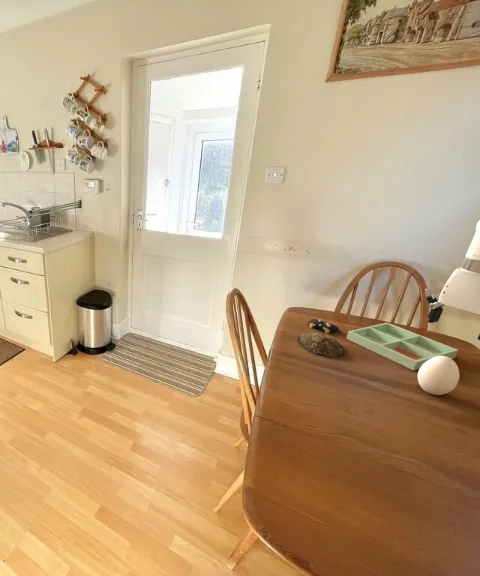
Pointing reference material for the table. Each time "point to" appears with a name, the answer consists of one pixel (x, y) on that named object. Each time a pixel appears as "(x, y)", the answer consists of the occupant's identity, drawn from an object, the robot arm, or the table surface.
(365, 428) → the table surface
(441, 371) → the egg
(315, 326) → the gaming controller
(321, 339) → the brown rock
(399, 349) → the divided tray
